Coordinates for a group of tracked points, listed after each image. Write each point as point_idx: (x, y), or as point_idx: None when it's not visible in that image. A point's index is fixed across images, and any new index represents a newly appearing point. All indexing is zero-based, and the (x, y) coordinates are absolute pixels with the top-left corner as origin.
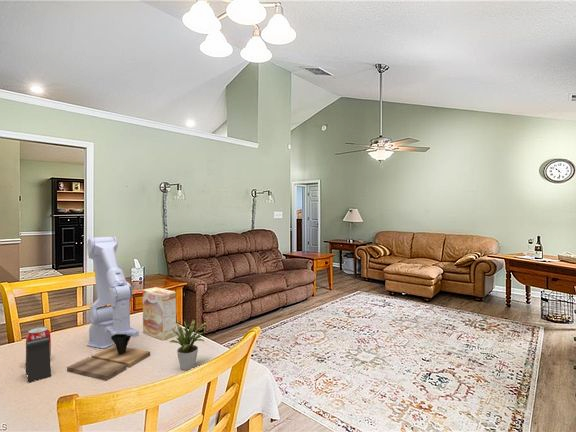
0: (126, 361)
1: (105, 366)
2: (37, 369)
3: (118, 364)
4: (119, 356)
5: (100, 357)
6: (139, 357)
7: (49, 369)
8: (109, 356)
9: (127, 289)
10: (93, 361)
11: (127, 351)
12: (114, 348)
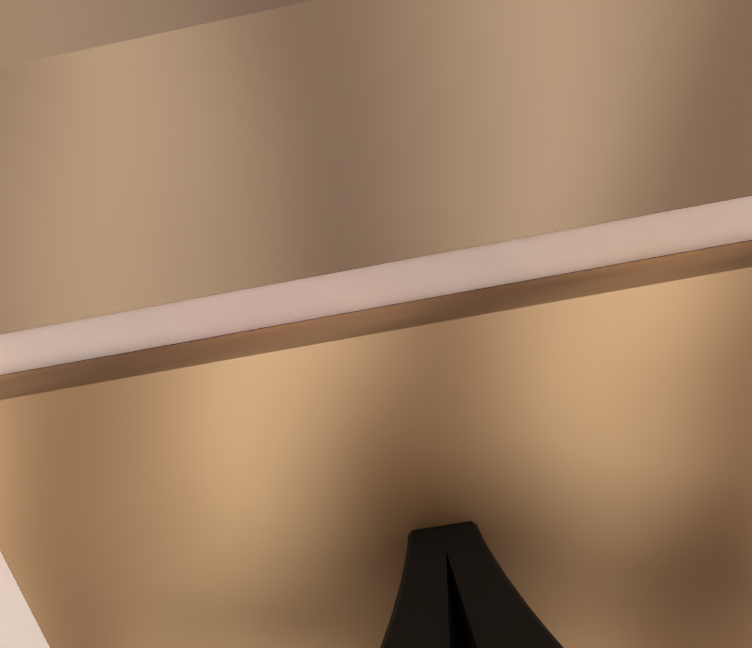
0: (48, 431)
1: (160, 90)
2: None
3: (36, 288)
4: (363, 479)
5: (671, 281)
6: (33, 609)
7: None
8: (535, 392)
9: None
10: (643, 88)
11: None
12: (748, 602)
